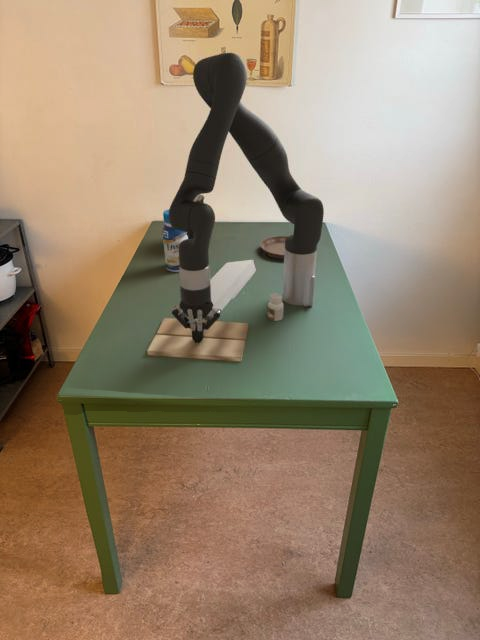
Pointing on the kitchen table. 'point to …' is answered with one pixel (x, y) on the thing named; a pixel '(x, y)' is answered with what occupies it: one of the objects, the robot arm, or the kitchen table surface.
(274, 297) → the pill bottle
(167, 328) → the laid plank
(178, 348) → the oak plank
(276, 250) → the plant saucer
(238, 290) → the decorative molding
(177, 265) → the beverage bottle
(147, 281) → the kitchen table surface
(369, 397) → the kitchen table surface
